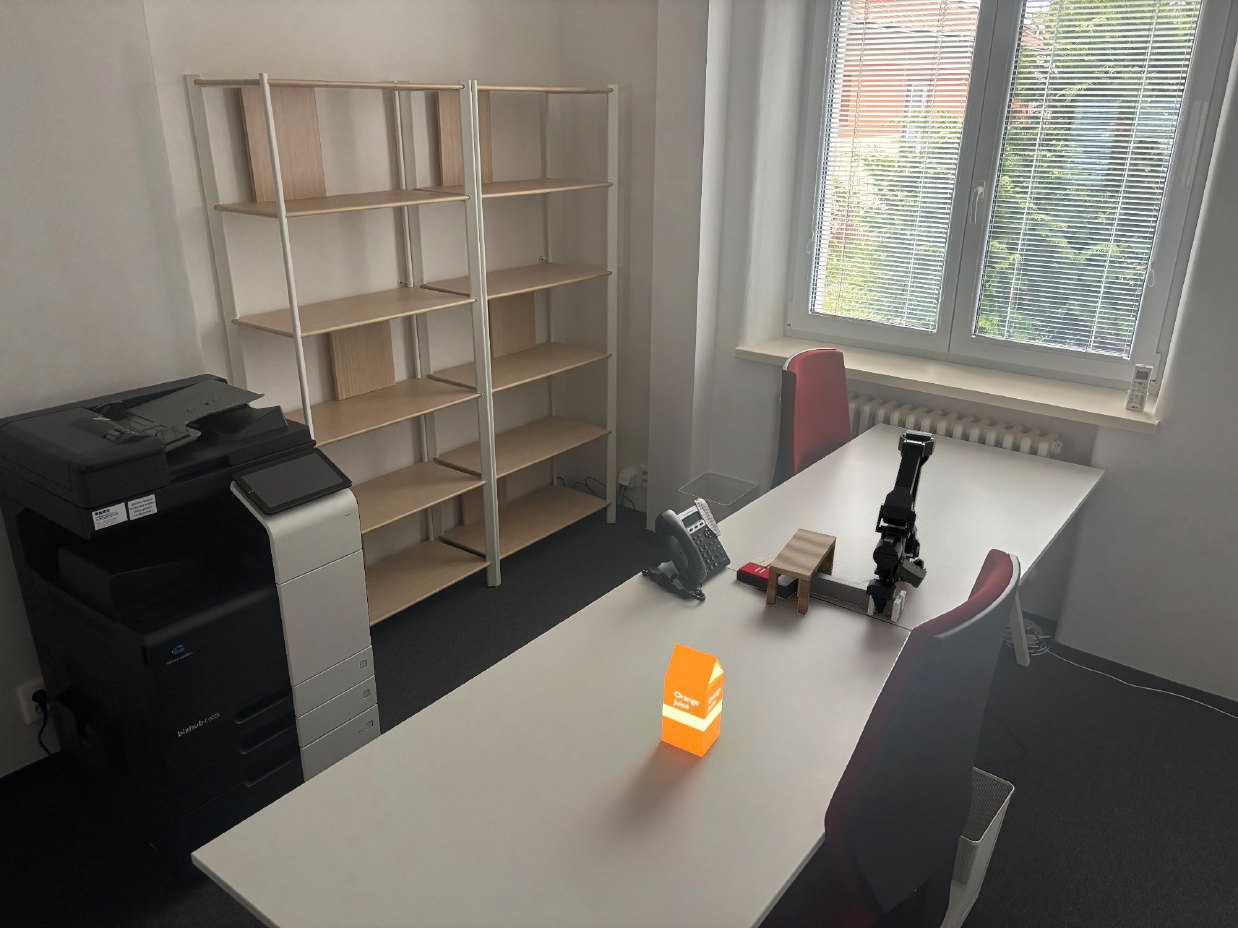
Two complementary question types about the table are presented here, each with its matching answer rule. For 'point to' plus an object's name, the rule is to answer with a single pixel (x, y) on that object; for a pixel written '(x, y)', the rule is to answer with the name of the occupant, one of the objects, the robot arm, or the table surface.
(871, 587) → the robot arm
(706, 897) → the table surface
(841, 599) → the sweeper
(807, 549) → the wooden stool
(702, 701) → the orange juice
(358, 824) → the table surface
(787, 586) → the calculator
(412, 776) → the table surface
